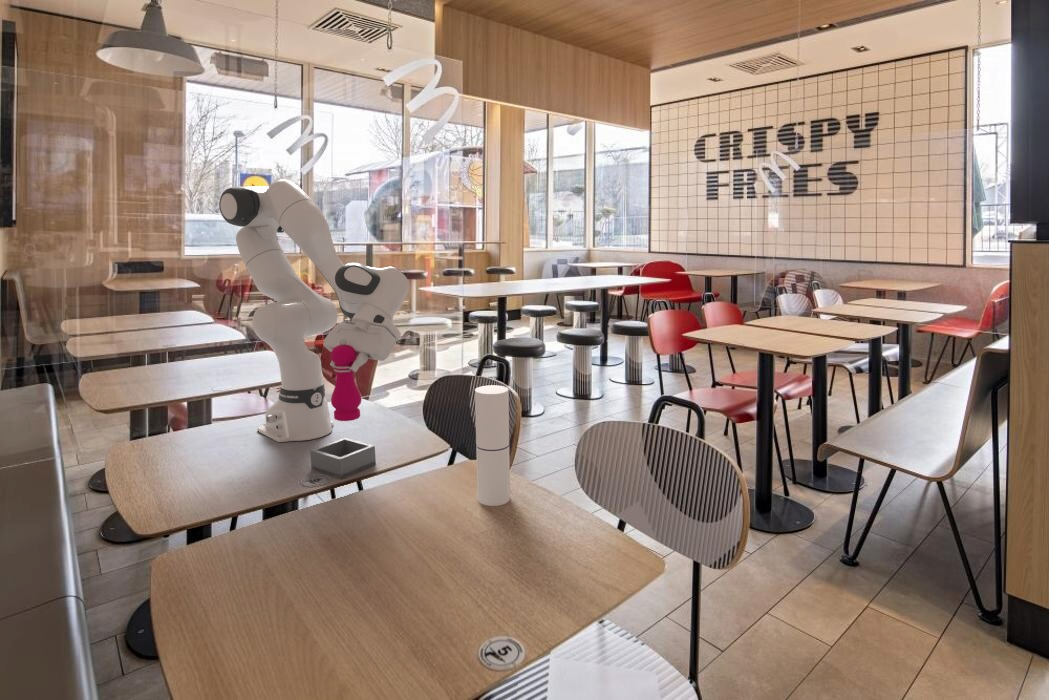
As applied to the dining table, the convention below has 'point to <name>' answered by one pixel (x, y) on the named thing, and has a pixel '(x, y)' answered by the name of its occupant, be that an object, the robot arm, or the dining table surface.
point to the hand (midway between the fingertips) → (342, 368)
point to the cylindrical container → (492, 444)
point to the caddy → (342, 458)
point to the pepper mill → (345, 384)
